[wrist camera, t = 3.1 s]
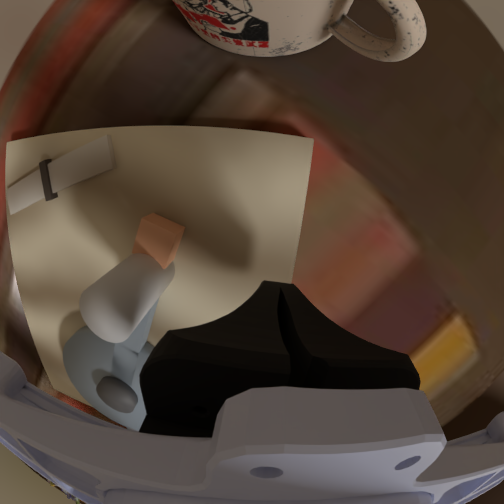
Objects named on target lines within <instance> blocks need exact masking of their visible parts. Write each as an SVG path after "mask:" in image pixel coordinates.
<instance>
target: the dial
mask: <svg viewBox="0 0 504 504" xmlns="http://www.w3.org/2000/svg"><path fill="white" fill-rule="evenodd" d="M185 228H186V227H184V226H182V225H179V224H177V223H175V222H173V221H171V220H168V219H166V218H164V217H162V216H160V215H158V214H155V213H151V214H149V215H147V216H145V217H143V218H141V222H140V225H139V228H138V232H137V235H136V239H135V242H134V246H133V250H132V253H133V254H131V255H130V256H129V257H127V258H126V259H125V260H123V261H122V262H121V263H119V264H118V265H117V266H115V267H114V268H113V269H111V270H110V271H109V272H107V273H106V274H105V275H103V276H102V277H101V278H100V279H98V280H97V281H96V282H94V283H93V284H92V285H91V286H89V287H88V288H87V289H86V290H84V291H83V292H82V294H81V296H80V300H79V308H80V312H81V315H82V318H83V320H84V321H85V323H86V326H84V327H82V328H80V329H79V330H77V331H76V332H75V333H74V334H73V336H72V337H71V338H70V339H69V340H68V341H67V342H66V343H65V346H64V348H63V363H64V367H65V370H66V372H67V375H68V377H69V378H70V380H71V382H72V384H73V385H74V387H75V388H76V389H77V391H78V392H79V393H80V394H81V395H82V397H83V398H84V399H85V400H86V401H87V402H88V403H89V404H91V405H92V406H93V407H94V408H95V409H96V410H98V411H99V412H100V413H102V414H103V415H105V416H106V417H108V418H109V419H111V420H113V421H115V422H117V423H119V424H121V425H123V426H125V427H128V428H131V429H134V430H137V431H139V430H140V427H141V425H142V423H143V421H144V419H145V416H146V410H145V406H144V401H143V397H142V393H141V388H140V380H139V374H140V372H141V370H142V367H143V365H144V363H145V362H146V360H147V358H148V357H149V355H150V353H151V352H152V350H153V348H154V346H152V345H151V344H149V343H148V342H146V341H147V338H148V334H149V331H150V327H151V324H152V320H153V317H154V314H155V310H156V307H157V304H158V300H159V297H160V296H161V294H162V293H163V292H164V291H165V289H166V288H167V287H168V285H169V284H170V283H171V282H172V280H173V278H174V275H175V265H174V262H173V260H174V258H175V255H176V252H177V249H178V247H179V244H180V241H181V238H182V236H183V233H184V230H185Z"/></svg>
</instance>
